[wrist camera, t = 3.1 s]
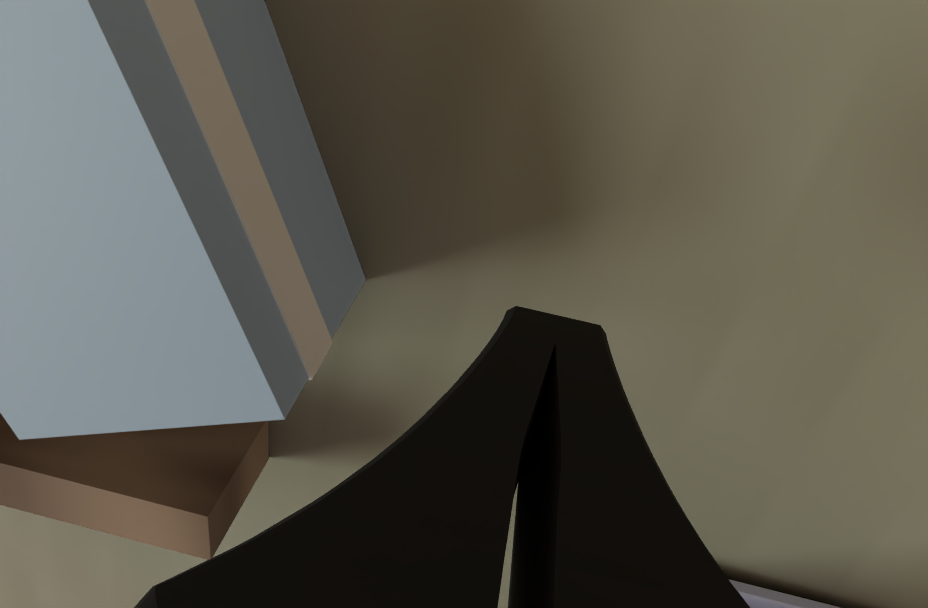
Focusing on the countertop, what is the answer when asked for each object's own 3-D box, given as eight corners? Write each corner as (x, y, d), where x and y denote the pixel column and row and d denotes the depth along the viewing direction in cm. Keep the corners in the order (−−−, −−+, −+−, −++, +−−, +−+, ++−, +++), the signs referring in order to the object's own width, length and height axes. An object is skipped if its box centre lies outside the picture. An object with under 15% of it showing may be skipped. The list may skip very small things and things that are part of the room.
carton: (232, -109, 14) (57, -73, 10) (370, 278, 18) (288, 421, 14) (-28, -28, 15) (-271, 31, 11) (150, 307, 19) (18, 441, 15)
